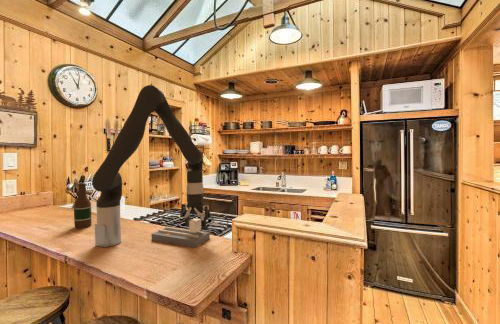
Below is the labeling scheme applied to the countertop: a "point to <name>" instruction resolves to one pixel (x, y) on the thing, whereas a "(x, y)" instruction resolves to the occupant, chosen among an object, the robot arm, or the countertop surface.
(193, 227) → the fader tab
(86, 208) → the beer bottle
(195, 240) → the console
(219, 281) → the countertop surface
